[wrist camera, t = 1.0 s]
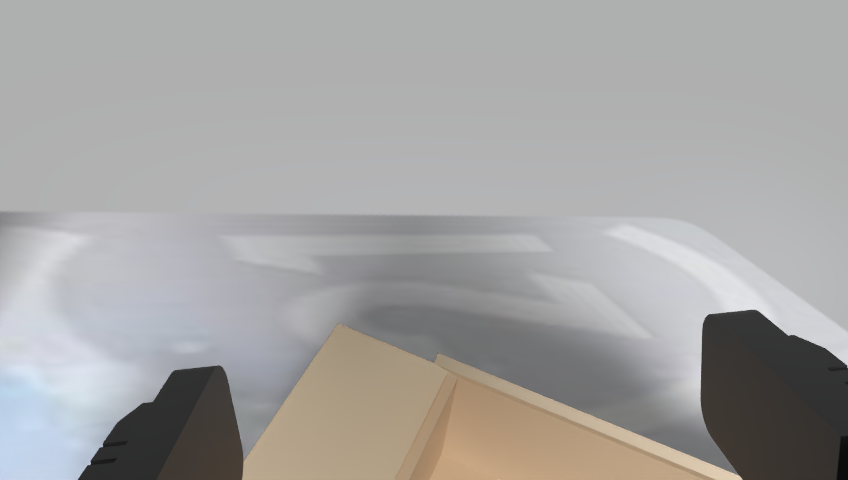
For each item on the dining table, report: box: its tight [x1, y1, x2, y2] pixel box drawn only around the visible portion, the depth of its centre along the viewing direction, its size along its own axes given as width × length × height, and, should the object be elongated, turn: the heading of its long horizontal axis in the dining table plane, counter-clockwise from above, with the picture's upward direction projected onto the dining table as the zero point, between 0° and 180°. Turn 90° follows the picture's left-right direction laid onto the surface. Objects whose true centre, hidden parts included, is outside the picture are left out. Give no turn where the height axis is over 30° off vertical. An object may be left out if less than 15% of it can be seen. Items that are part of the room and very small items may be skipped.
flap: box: [434, 353, 743, 480], centre depth 27 cm, size 15×1×8 cm, turn 66°
